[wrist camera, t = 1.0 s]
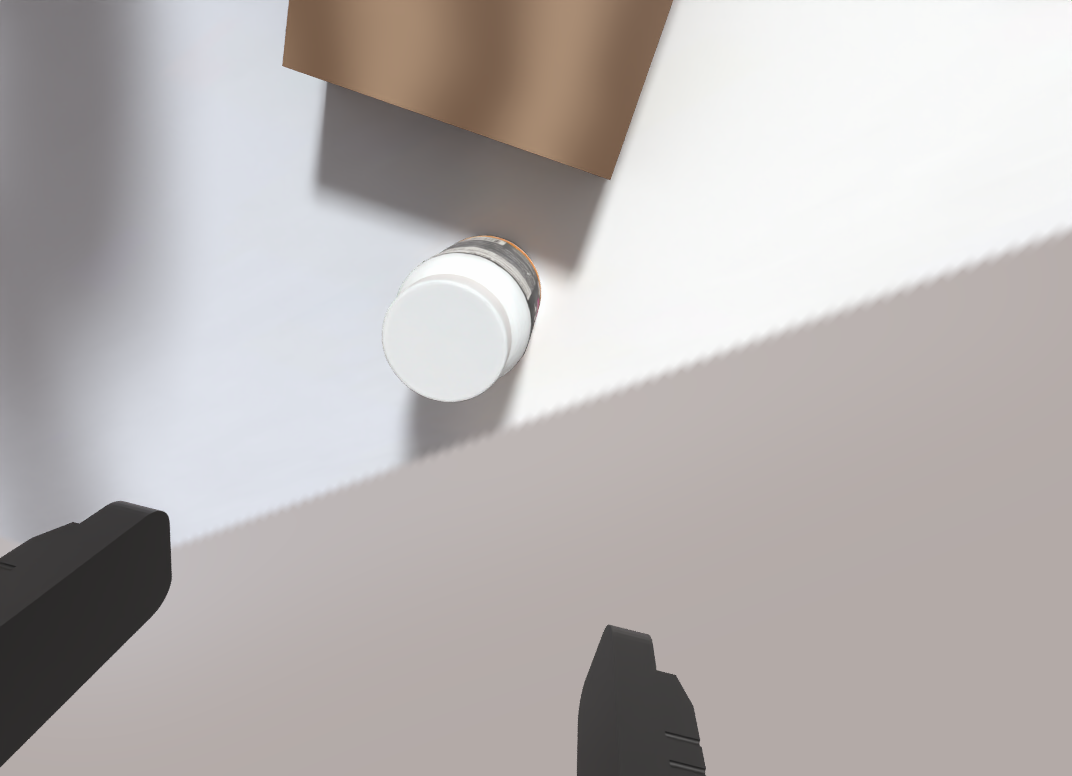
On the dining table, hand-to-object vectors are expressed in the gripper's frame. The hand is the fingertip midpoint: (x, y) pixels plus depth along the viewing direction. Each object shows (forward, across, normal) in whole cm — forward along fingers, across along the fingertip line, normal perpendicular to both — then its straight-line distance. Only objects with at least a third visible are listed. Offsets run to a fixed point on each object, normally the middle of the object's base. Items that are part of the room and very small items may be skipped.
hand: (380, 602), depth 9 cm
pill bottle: (+21, +2, -1) cm, 21 cm away
